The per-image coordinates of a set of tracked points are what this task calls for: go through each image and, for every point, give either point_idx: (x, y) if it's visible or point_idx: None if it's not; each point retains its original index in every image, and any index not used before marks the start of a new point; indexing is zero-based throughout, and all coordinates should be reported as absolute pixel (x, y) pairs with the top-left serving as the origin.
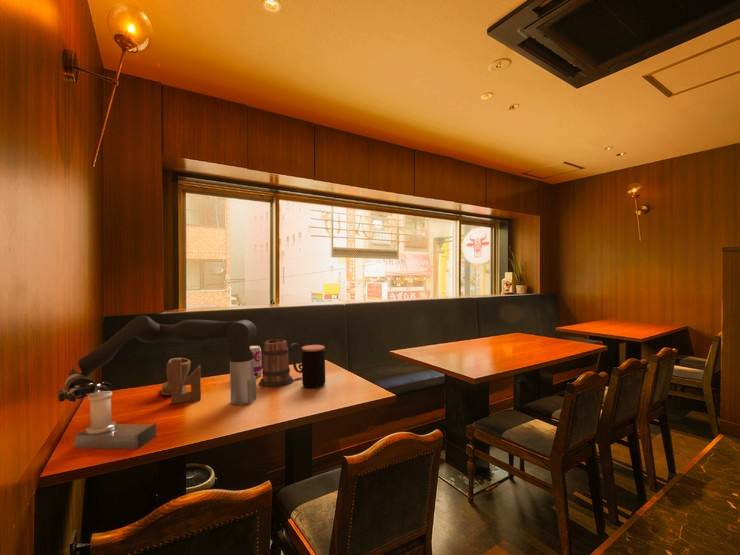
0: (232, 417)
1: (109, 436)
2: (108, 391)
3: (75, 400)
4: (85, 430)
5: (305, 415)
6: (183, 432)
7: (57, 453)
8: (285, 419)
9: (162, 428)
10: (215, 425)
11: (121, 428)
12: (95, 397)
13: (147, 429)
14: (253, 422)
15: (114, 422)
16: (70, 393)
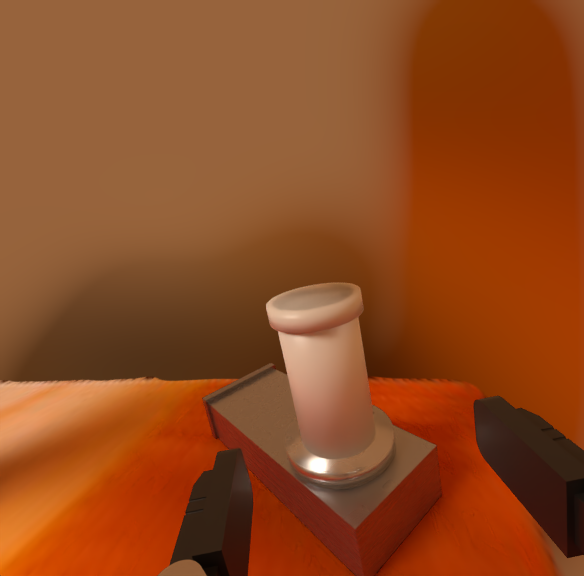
0: (29, 443)
1: None
2: (275, 308)
3: (478, 441)
4: (402, 474)
5: (16, 384)
6: (160, 425)
7: (504, 489)
8: (41, 386)
9: (159, 483)
10: (96, 422)
11: (281, 421)
12: (334, 283)
13: (237, 382)
14: (64, 399)
15: (290, 437)
16: (581, 466)
